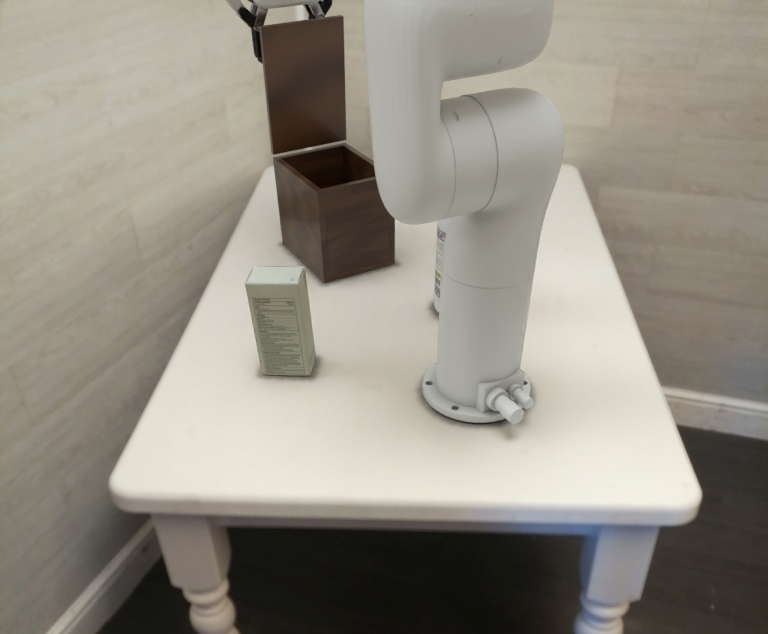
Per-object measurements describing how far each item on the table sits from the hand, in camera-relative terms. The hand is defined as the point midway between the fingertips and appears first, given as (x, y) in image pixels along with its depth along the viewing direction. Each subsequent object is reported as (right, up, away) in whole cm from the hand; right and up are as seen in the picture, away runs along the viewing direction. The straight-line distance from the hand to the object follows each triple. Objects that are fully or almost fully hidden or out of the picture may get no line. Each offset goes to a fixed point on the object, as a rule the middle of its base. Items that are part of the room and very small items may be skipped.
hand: (289, 58), depth 101 cm
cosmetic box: (+1, -46, -12) cm, 47 cm away
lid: (+3, -5, -1) cm, 6 cm away
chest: (+6, -24, +10) cm, 26 cm away
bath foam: (+23, -36, -2) cm, 43 cm away
